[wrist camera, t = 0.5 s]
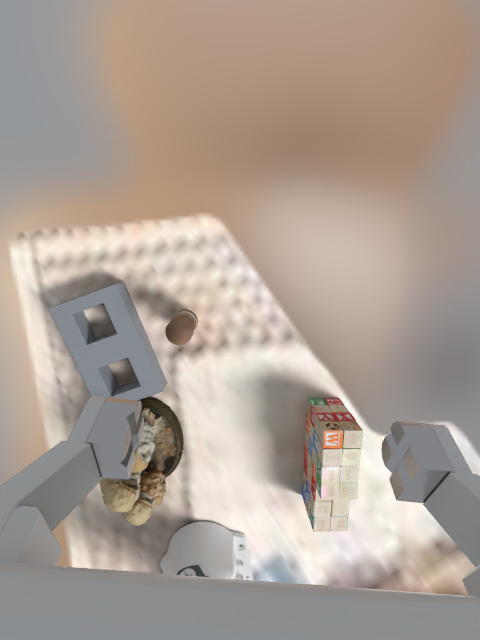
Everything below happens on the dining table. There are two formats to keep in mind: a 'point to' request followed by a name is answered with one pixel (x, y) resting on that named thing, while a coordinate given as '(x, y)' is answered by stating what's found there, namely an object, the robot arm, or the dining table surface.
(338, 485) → the stack of blocks
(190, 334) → the walnut peg
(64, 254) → the dining table surface
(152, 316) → the dining table surface
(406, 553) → the dining table surface
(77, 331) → the two-hole board
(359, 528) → the dining table surface
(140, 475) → the beige rough lumpy piece
